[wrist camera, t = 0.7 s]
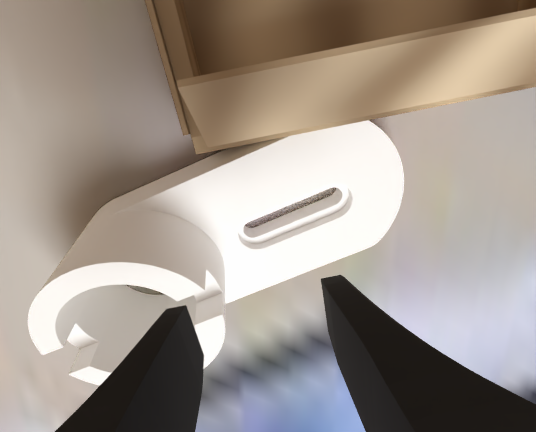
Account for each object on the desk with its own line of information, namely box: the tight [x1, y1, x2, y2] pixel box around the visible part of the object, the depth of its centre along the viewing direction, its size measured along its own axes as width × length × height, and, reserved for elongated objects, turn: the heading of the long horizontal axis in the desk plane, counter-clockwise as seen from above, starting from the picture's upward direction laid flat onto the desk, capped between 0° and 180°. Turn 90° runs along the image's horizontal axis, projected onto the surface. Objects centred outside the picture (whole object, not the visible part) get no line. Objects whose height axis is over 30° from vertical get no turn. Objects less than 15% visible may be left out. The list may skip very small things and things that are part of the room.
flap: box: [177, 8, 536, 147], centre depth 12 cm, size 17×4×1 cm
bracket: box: [28, 120, 404, 385], centre depth 17 cm, size 20×9×7 cm, turn 113°
